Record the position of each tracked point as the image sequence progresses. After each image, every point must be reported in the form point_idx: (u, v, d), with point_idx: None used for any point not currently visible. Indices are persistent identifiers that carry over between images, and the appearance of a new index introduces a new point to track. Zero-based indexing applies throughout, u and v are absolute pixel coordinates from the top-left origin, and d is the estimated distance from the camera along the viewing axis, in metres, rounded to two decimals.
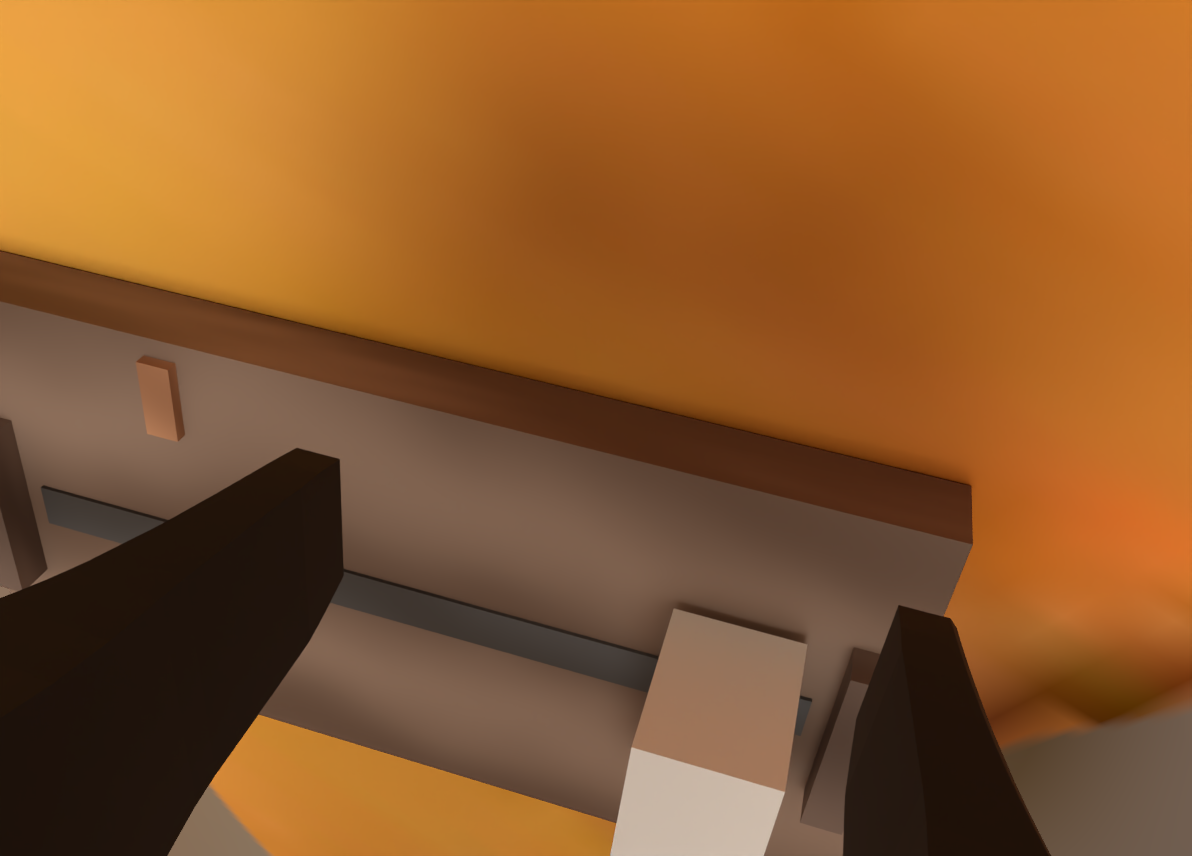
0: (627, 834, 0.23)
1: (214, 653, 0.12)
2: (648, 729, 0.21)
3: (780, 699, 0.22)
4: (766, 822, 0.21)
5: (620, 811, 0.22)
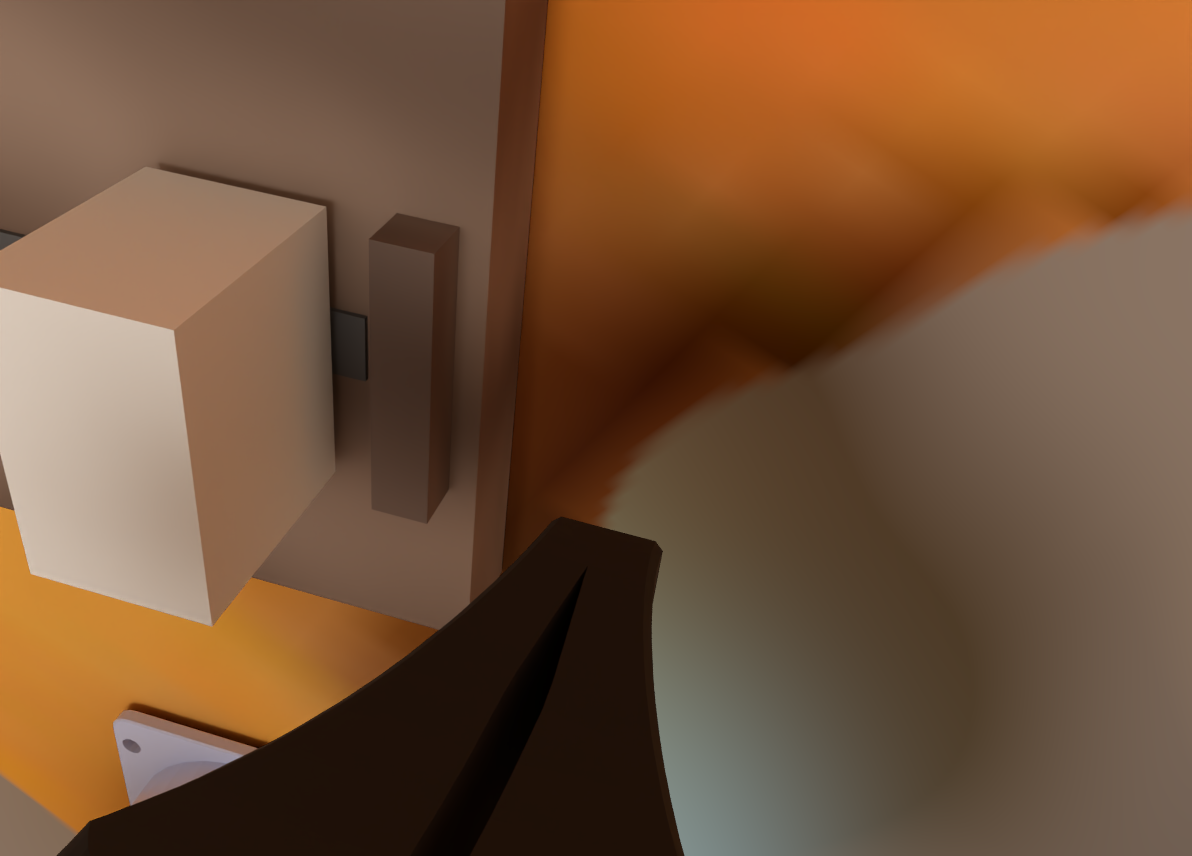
0: (16, 454, 0.15)
1: (517, 743, 0.11)
2: (0, 263, 0.14)
3: (241, 248, 0.15)
4: (171, 397, 0.14)
5: None
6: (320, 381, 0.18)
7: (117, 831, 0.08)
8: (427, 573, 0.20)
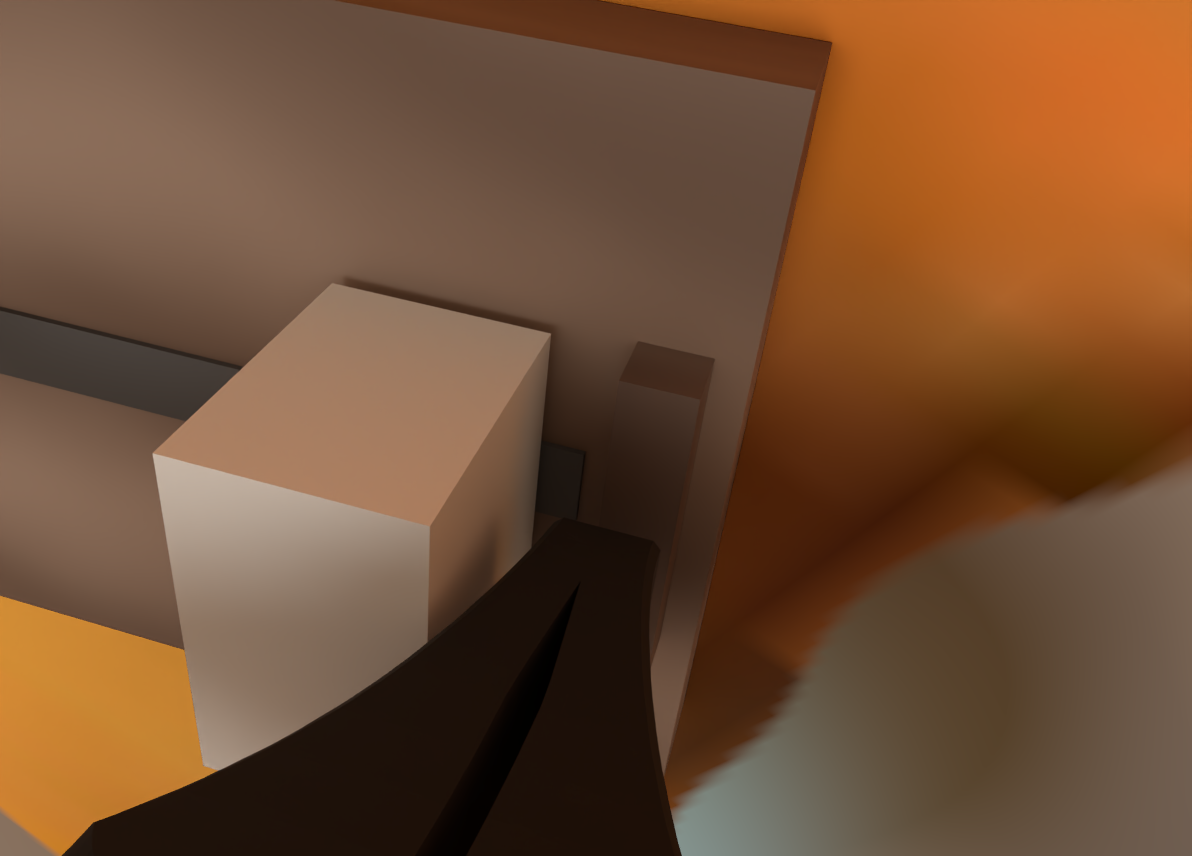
0: (204, 644, 0.13)
1: (520, 744, 0.11)
2: (200, 429, 0.11)
3: (474, 399, 0.12)
4: (413, 598, 0.11)
5: (177, 597, 0.12)
6: (525, 525, 0.15)
7: (121, 833, 0.08)
8: None
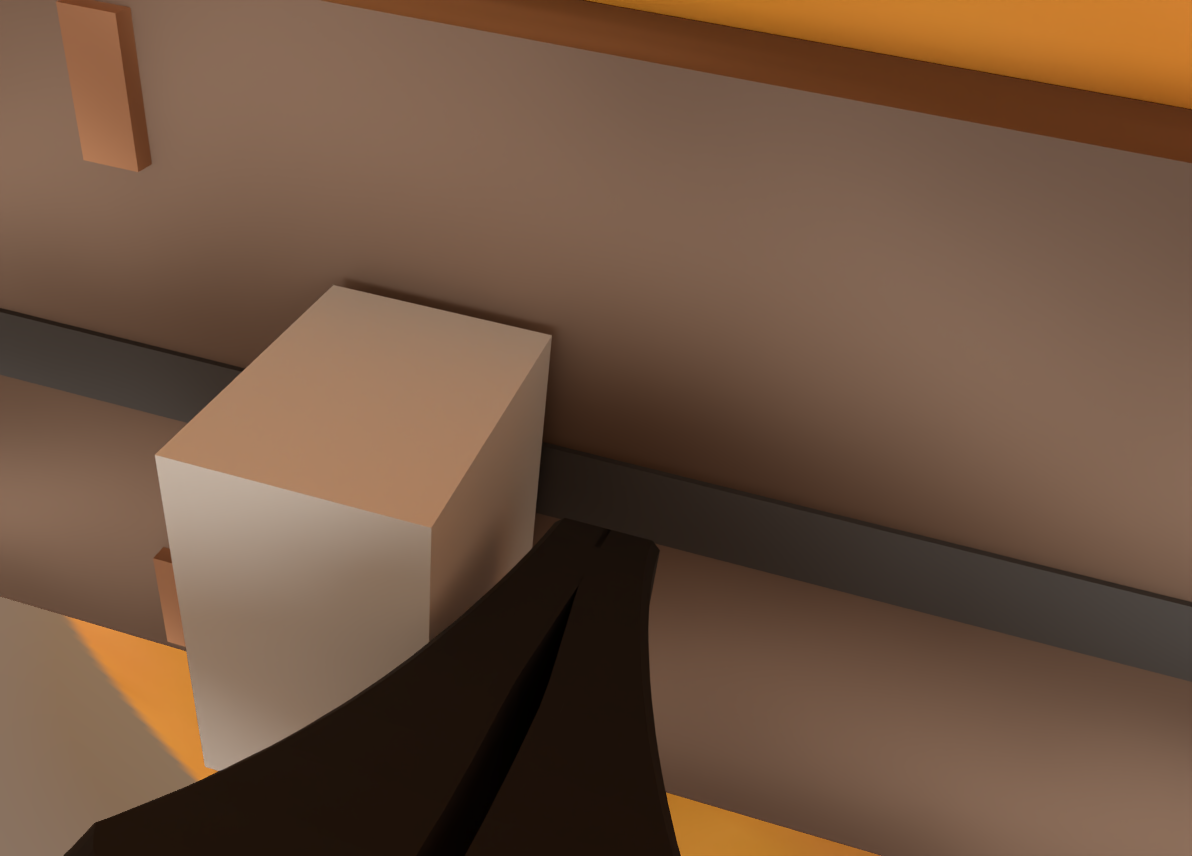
0: (205, 645, 0.13)
1: (521, 744, 0.11)
2: (202, 431, 0.11)
3: (475, 400, 0.12)
4: (415, 599, 0.11)
5: (179, 598, 0.12)
6: (526, 527, 0.15)
7: (122, 833, 0.08)
8: None
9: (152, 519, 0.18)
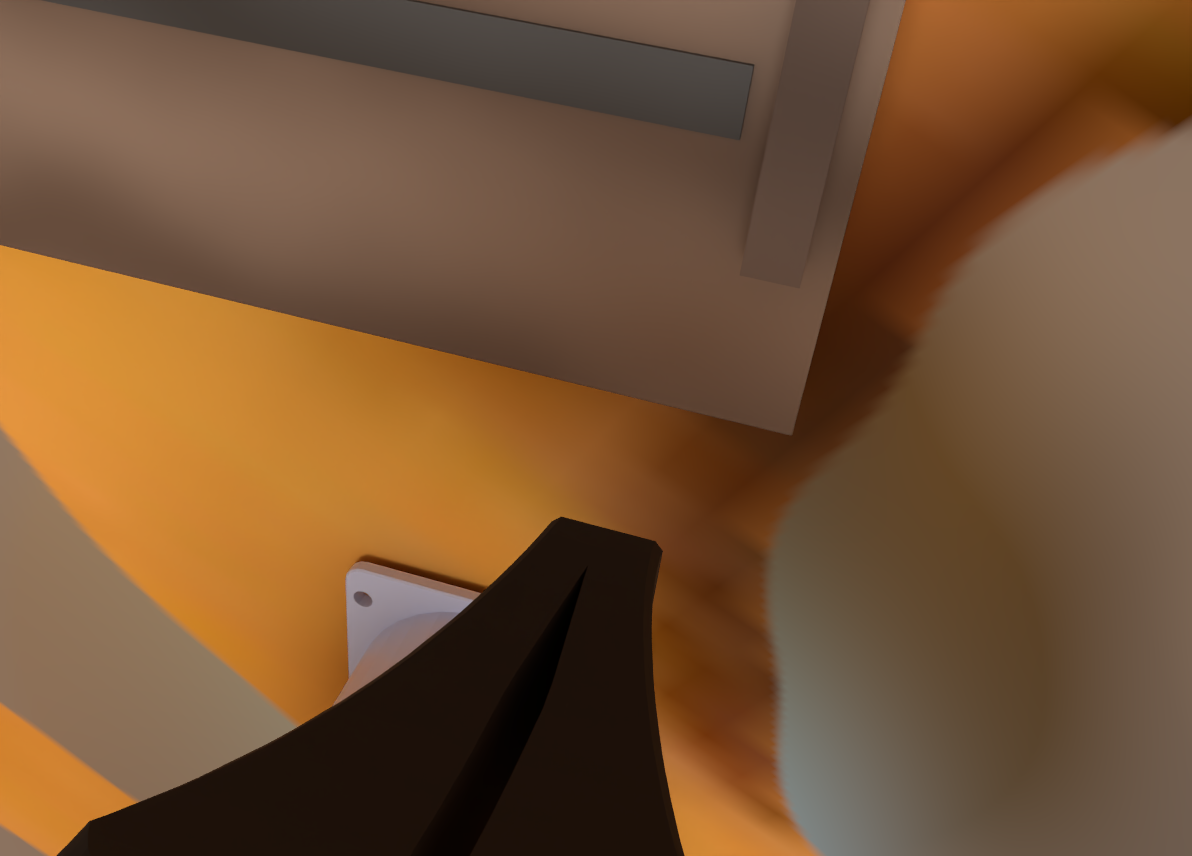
0: None
1: (517, 743, 0.11)
2: None
3: None
4: None
5: None
6: None
7: (116, 831, 0.08)
8: (761, 363, 0.20)
9: None
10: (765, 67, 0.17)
